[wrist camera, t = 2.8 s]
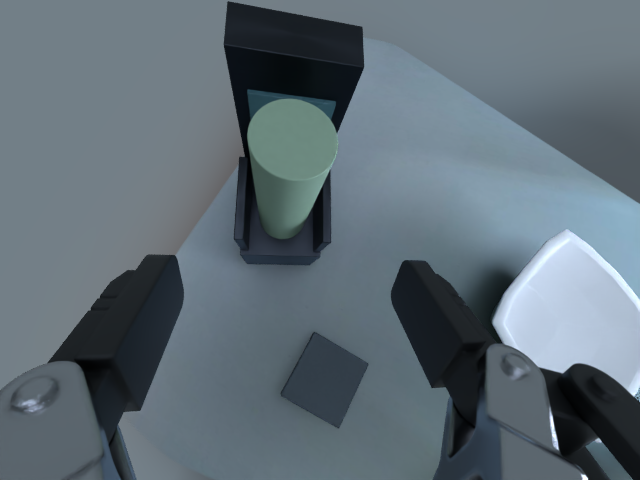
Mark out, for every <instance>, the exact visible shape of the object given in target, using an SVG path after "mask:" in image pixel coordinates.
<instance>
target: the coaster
mask: <svg viewBox="0 0 640 480" xmlns="http://www.w3.org/2000/svg"><path fill="white" fill-rule="evenodd" d="M367 366H368V363H366V362H365V361H363V360H361V359H360V358H358V357H356V356H354V355H353V354H351V353H349V352H348V351H346V350H344V349H343V348H341V347H339V346H337V345H336V344H334V343H332V342H331V341H329V340H327V339H326V338H324V337H322V336H321V335H319V334H317V333H315V332H314V333H313V335H312V337H311V338H310V340H309V342H308V344H307V346H306V348H305V350H304V351H303V353H302V355H301V357H300V359H299V361H298V363H297V364H296V366H295V368H294V370H293V372H292V374H291V376H290V377H289V379H288V381H287V383H286V385H285V387H284V389H283V391H282V392H281V396H282V397H284V398H286V399H288V400H289V401H291V402H293V403H295V404H296V405H298V406H300V407H302V408H303V409H305V410H307V411H309V412H310V413H312V414H314V415H316V416H317V417H319V418H321V419H323V420H324V421H326V422H328V423H330V424H331V425H333V426H335V427H337V428H339V427H340V425H341V423H342V421H343V418H344V416H345V414H346V412H347V410H348V408H349V405H350V403H351V401H352V399H353V397H354V395H355V392H356V390H357V388H358V386H359V384H360V382H361V379H362V377H363V375H364V373H365V371H366V369H367Z"/></svg>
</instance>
